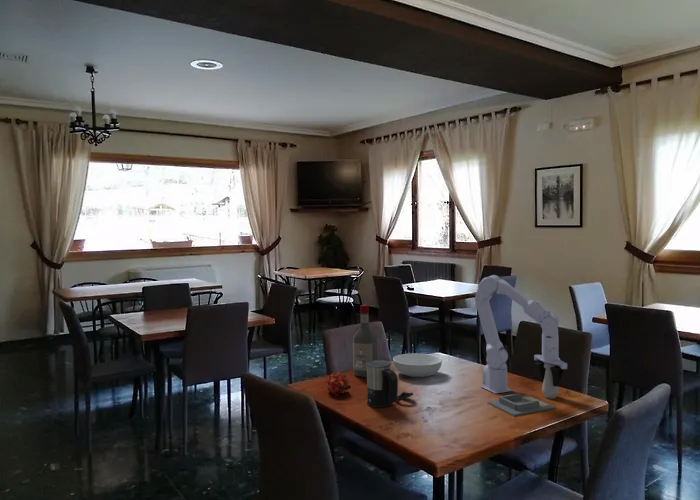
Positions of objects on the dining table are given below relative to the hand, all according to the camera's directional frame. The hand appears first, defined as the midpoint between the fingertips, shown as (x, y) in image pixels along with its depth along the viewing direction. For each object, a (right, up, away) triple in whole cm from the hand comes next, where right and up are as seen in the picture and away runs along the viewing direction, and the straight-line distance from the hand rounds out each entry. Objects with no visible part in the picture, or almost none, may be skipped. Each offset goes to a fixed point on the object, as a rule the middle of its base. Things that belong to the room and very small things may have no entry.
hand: (550, 383), depth 193 cm
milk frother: (-59, -6, -2) cm, 60 cm away
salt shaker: (0, -5, 0) cm, 5 cm away
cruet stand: (-14, -6, -9) cm, 17 cm away
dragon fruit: (-78, -6, +9) cm, 79 cm away
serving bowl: (-45, -5, +33) cm, 55 cm away
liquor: (-67, -5, +34) cm, 75 cm away
